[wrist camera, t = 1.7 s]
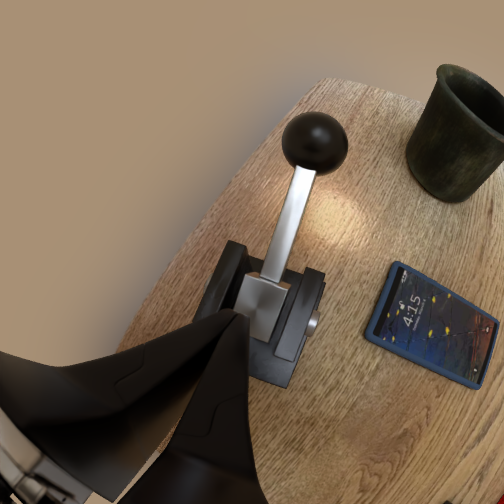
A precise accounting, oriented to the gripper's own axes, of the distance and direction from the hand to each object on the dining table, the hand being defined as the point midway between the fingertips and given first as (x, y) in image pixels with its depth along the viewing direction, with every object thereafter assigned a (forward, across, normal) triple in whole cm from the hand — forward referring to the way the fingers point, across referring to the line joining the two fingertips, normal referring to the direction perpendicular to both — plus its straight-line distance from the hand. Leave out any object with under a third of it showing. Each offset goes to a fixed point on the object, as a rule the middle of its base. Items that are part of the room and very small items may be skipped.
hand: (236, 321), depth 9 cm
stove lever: (+8, 0, -1) cm, 8 cm away
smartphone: (+14, -16, +6) cm, 22 cm away
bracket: (+11, 0, +8) cm, 14 cm away
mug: (+28, -15, -8) cm, 33 cm away
